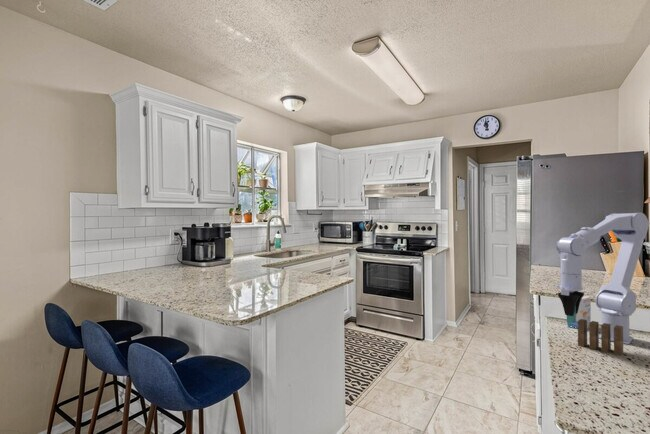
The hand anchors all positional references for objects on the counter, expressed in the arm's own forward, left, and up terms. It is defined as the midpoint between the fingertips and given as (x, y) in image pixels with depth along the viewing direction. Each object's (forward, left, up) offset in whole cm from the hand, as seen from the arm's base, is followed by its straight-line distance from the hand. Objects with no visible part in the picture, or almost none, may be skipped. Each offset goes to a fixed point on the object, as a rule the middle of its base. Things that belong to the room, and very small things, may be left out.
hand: (571, 314), depth 113 cm
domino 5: (0, +12, -9) cm, 15 cm away
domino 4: (0, +9, -9) cm, 13 cm away
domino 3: (0, +6, -9) cm, 11 cm away
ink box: (-24, -3, -10) cm, 26 cm away
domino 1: (0, 0, -2) cm, 2 cm away
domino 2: (0, +3, -9) cm, 10 cm away
